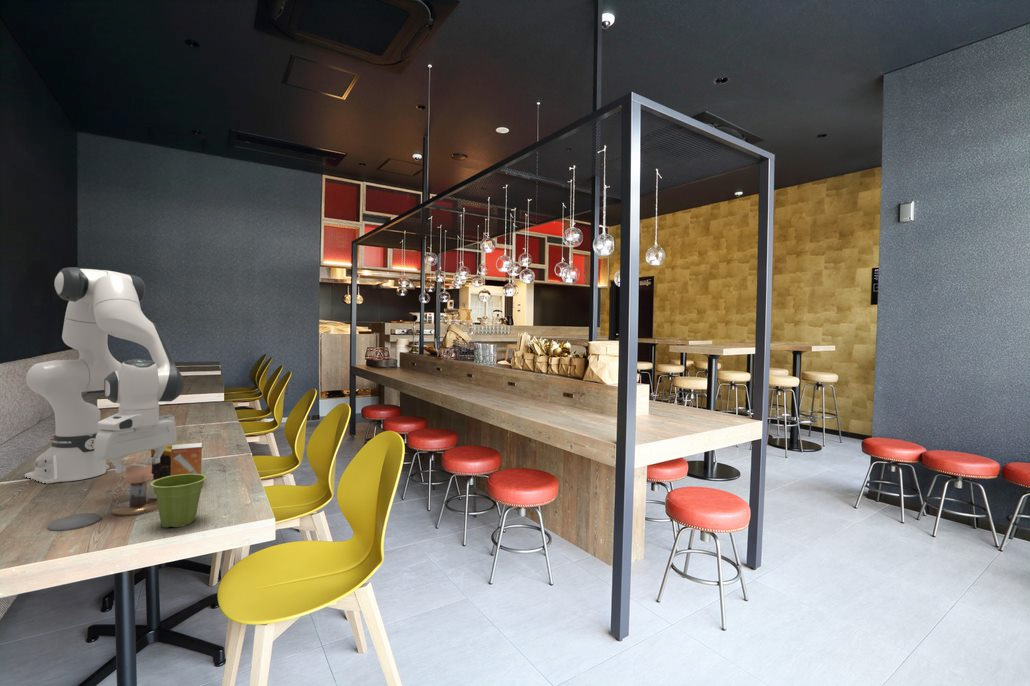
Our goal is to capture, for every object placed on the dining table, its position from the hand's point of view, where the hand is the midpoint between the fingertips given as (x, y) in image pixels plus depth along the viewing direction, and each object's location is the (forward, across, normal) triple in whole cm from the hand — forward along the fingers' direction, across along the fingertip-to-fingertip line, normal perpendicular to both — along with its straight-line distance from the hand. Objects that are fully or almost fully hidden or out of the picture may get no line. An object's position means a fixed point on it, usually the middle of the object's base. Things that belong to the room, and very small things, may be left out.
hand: (138, 467), depth 132 cm
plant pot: (+12, +4, +19) cm, 23 cm away
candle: (+12, -26, -18) cm, 34 cm away
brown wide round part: (+11, 0, 0) cm, 11 cm away
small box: (+12, -19, -5) cm, 23 cm away
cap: (+3, 0, 0) cm, 3 cm away
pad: (+11, +12, -5) cm, 17 cm away
